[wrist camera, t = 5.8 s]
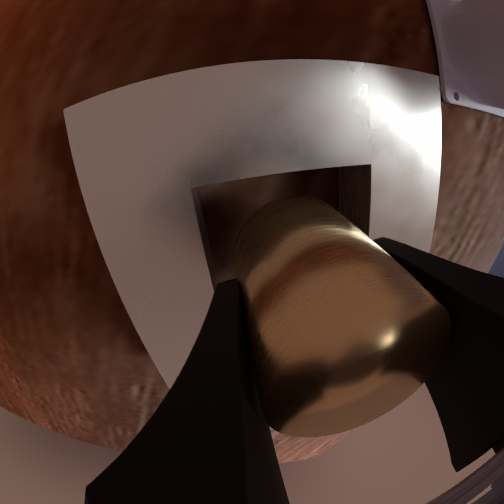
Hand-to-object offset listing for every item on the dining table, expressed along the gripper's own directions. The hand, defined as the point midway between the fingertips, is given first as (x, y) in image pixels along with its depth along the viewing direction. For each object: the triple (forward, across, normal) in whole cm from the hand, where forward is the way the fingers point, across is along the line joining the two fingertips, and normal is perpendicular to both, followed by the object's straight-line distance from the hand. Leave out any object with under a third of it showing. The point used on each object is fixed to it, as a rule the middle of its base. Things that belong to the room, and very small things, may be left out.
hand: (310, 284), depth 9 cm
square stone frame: (+5, 0, 0) cm, 5 cm away
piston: (+2, 0, 0) cm, 2 cm away
